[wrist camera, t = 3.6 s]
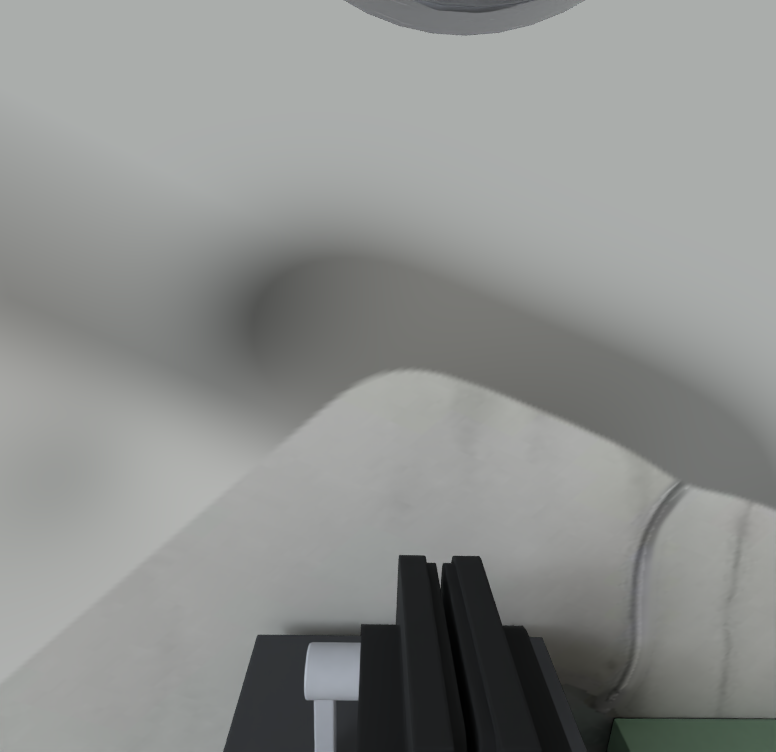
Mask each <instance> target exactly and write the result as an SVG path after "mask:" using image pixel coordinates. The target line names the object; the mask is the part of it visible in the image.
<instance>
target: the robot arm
mask: <svg viewBox="0 0 776 752" xmlns="http://www.w3.org/2000/svg"><path fill="white" fill-rule="evenodd" d="M356 752H572V750H571V747H570V745H569V742H568V739H567V737H566V734H565V731H564V729H563V726H562V723H561V721H560V718H559V715H558V713H557V710H556V707H555V705H554V702H553V699H552V697H551V694H550V691H549V689H548V686H547V683H546V681H545V678H544V675H543V673H542V670H541V667H540V665H539V662H538V659H537V657H536V654H535V652H534V649H533V646H532V644H531V641H530V638H529V636H528V634H527V631H526V629H525V628H524V627H523V626H502V623H501V620H500V617H499V614H498V611H497V607H496V604H495V601H494V598H493V595H492V592H491V589H490V585H489V582H488V579H487V576H486V573H485V570H484V567H483V563H482V560H481V558H480V557H479V556H453V557H452V562H451V563H443V566H442V577H441V589H440V584H439V578H438V572H437V567H436V563H427V562H426V557H425V556H419V555H399V563H398V586H397V610H396V625H369V624H362V625H361V647H360V671H359V695H358V720H357V744H356Z"/></svg>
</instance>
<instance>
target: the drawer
mask: <svg viewBox="0 0 776 752" xmlns="http://www.w3.org/2000/svg"><path fill="white" fill-rule="evenodd" d="M529 638H530V641H531V644H532V646H533V649H534V652H535V654H536V657H537V659H538V662H539V665H540V667H541V670H542V673H543V675H544V678H545V681H546V683H547V686H548V689H549V691H550V694H551V697H552V699H553V702H554V705H555V707H556V710H557V713H558V715H559V718H560V721H561V723H562V726H563V729H564V731H565V734H566V737H567V739H568V742H569V745H570V747H571V750H572V752H587V750H586V747H585V744H584V742H583V739H582V737H581V734H580V732H579V729H578V727H577V724H576V722H575V719H574V717H573V714H572V712H571V709H570V707H569V704H568V701H567V699H566V696H565V694H564V691H563V689H562V686H561V684H560V681H559V679H558V676H557V674H556V671H555V669H554V666H553V663H552V661H551V658H550V656H549V653H548V651H547V648H546V646H545V643H544V641H543V638H541V637H529ZM360 647H361V636H334V635H258V636H257V638H256V642H255V645H254V649H253V652H252V655H251V659H250V662H249V666H248V669H247V672H246V676H245V679H244V683H243V686H242V690H241V693H240V696H239V700H238V703H237V707H236V710H235V713H234V717H233V720H232V724H231V727H230V731H229V734H228V737H227V741H226V744H225V748H224V751H223V752H356V744H357V720H358V695H359V671H360Z"/></svg>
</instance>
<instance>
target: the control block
mask: <svg viewBox="0 0 776 752" xmlns="http://www.w3.org/2000/svg"><path fill="white" fill-rule="evenodd" d="M607 752H776V719H624V718H615V719H614V722H613V727H612V731H611V735H610V740H609V744H608V749H607Z"/></svg>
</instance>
